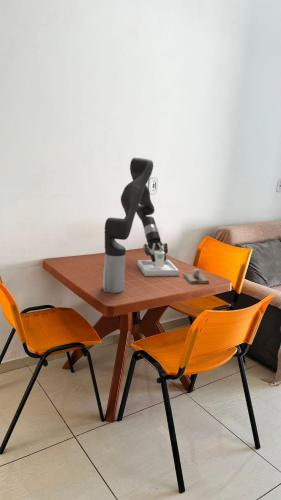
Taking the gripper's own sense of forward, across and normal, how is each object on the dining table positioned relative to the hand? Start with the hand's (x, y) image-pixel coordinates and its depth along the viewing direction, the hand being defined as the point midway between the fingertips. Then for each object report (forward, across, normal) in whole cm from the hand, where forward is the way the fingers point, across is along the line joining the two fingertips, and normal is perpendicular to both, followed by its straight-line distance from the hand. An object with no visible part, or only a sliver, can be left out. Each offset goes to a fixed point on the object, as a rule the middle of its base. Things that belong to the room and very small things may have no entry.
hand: (159, 261), depth 203 cm
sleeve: (+1, 0, +4) cm, 4 cm away
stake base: (+16, +13, -8) cm, 22 cm away
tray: (+3, 0, +5) cm, 6 cm away
